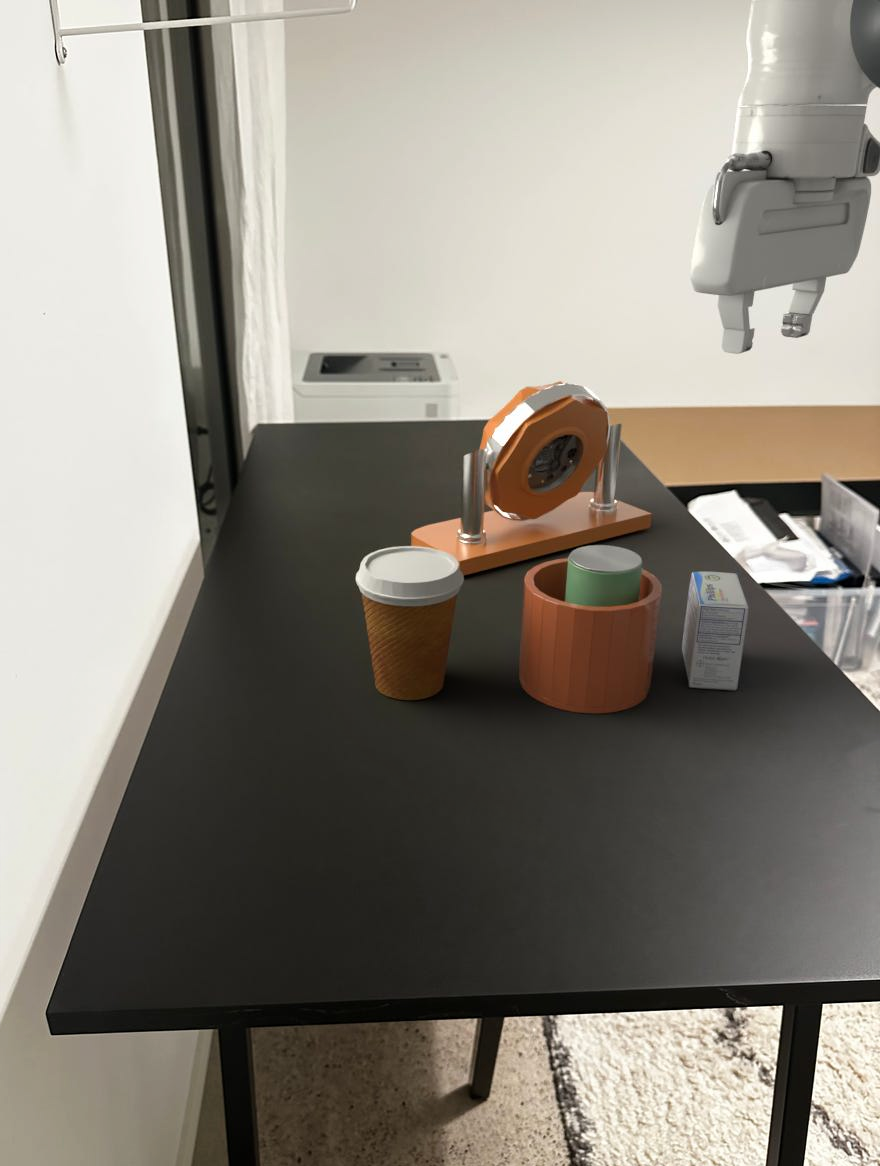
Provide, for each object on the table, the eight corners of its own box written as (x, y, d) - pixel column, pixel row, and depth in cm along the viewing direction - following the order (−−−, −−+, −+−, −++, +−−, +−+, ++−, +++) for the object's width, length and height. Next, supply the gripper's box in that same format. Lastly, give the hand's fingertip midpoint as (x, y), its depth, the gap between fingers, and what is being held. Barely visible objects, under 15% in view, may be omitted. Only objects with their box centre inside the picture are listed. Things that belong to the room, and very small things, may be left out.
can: (657, 557, 91) (597, 539, 95) (614, 577, 87) (553, 557, 91) (643, 679, 96) (586, 656, 100) (602, 703, 92) (544, 678, 96)
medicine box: (737, 692, 95) (751, 606, 91) (686, 689, 96) (699, 602, 92) (726, 654, 102) (739, 572, 98) (679, 650, 103) (690, 569, 99)
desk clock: (652, 532, 133) (671, 373, 124) (461, 582, 118) (467, 405, 109) (587, 506, 142) (600, 355, 133) (402, 549, 127) (403, 383, 118)
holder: (675, 681, 97) (688, 582, 92) (598, 728, 89) (609, 622, 85) (571, 641, 104) (578, 547, 100) (492, 680, 97) (497, 581, 93)
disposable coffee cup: (337, 681, 97) (333, 561, 92) (414, 651, 102) (415, 536, 97) (402, 721, 90) (403, 594, 85) (482, 687, 96) (487, 566, 91)
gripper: (765, 153, 68) (735, 368, 74) (894, 149, 81) (860, 332, 87) (680, 152, 72) (659, 356, 78) (816, 149, 85) (789, 324, 91)
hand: (766, 343), depth 83 cm, fingers open, 8 cm apart
